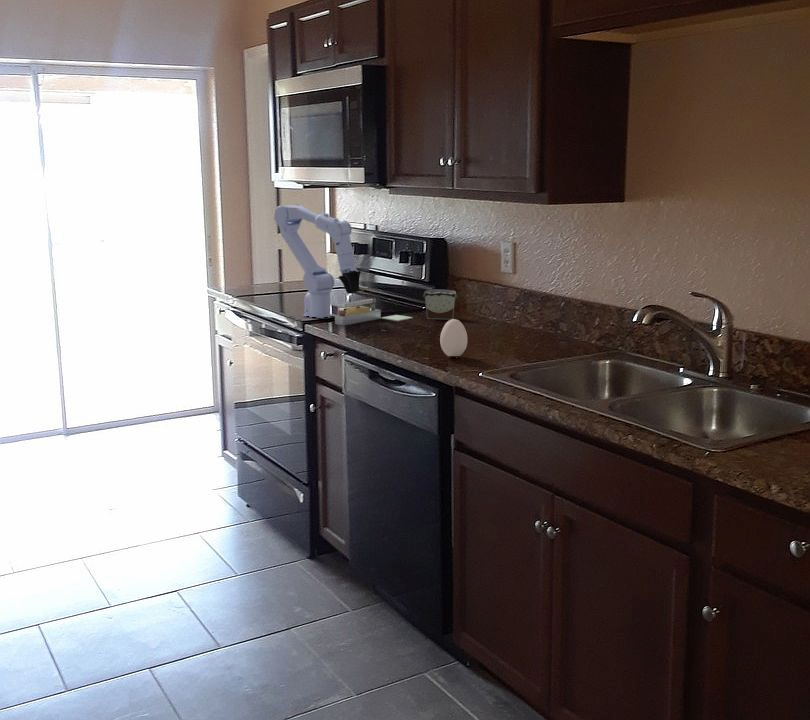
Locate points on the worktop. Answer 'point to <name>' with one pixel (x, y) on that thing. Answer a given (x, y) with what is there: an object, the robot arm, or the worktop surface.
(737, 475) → the worktop surface
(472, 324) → the worktop surface
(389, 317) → the mat
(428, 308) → the food container
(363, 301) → the lever
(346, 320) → the plane body
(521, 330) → the worktop surface
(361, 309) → the cap
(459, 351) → the egg
